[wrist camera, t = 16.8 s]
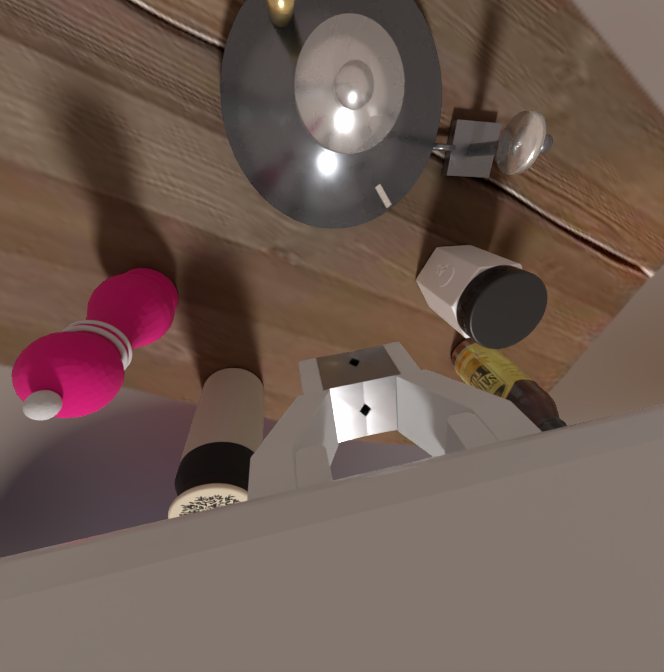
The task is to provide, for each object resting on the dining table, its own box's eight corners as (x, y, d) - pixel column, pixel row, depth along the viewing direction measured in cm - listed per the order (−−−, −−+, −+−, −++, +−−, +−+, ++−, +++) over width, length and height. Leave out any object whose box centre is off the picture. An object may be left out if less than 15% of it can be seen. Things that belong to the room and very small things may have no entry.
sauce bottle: (449, 339, 46) (559, 443, 28) (490, 331, 46) (621, 429, 29) (447, 376, 49) (544, 490, 32) (485, 368, 50) (600, 476, 32)
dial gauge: (421, 174, 35) (483, 176, 25) (429, 119, 33) (502, 96, 22) (482, 177, 36) (566, 180, 26) (494, 124, 34) (592, 106, 24)
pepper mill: (98, 273, 34) (-84, 385, 16) (164, 254, 34) (53, 344, 17) (134, 331, 37) (16, 473, 20) (194, 313, 38) (129, 438, 20)
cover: (344, 176, 31) (354, 177, 27) (270, 96, 27) (271, 84, 24) (411, 96, 29) (433, 85, 25) (342, -3, 25) (355, -34, 21)
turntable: (463, 146, 34) (491, 143, 29) (311, 261, 37) (317, 274, 32) (364, -104, 24) (385, -162, 20) (172, 77, 27) (153, 60, 23)
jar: (445, 229, 38) (511, 251, 28) (492, 258, 41) (568, 289, 31) (404, 293, 41) (449, 336, 31) (450, 317, 44) (506, 363, 34)
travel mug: (206, 362, 41) (166, 483, 25) (268, 370, 43) (267, 486, 27) (200, 411, 44) (162, 545, 28) (259, 416, 46) (253, 543, 31)
